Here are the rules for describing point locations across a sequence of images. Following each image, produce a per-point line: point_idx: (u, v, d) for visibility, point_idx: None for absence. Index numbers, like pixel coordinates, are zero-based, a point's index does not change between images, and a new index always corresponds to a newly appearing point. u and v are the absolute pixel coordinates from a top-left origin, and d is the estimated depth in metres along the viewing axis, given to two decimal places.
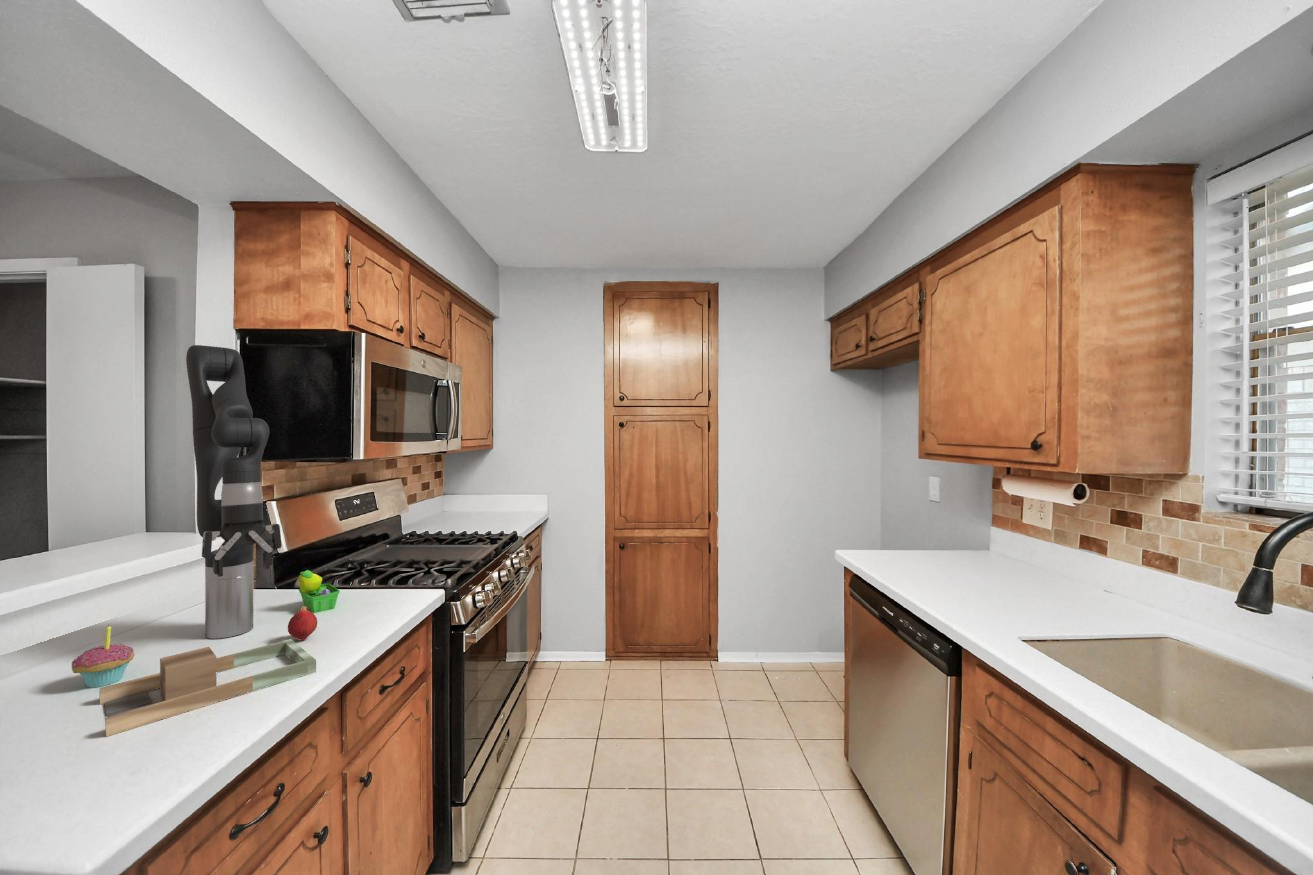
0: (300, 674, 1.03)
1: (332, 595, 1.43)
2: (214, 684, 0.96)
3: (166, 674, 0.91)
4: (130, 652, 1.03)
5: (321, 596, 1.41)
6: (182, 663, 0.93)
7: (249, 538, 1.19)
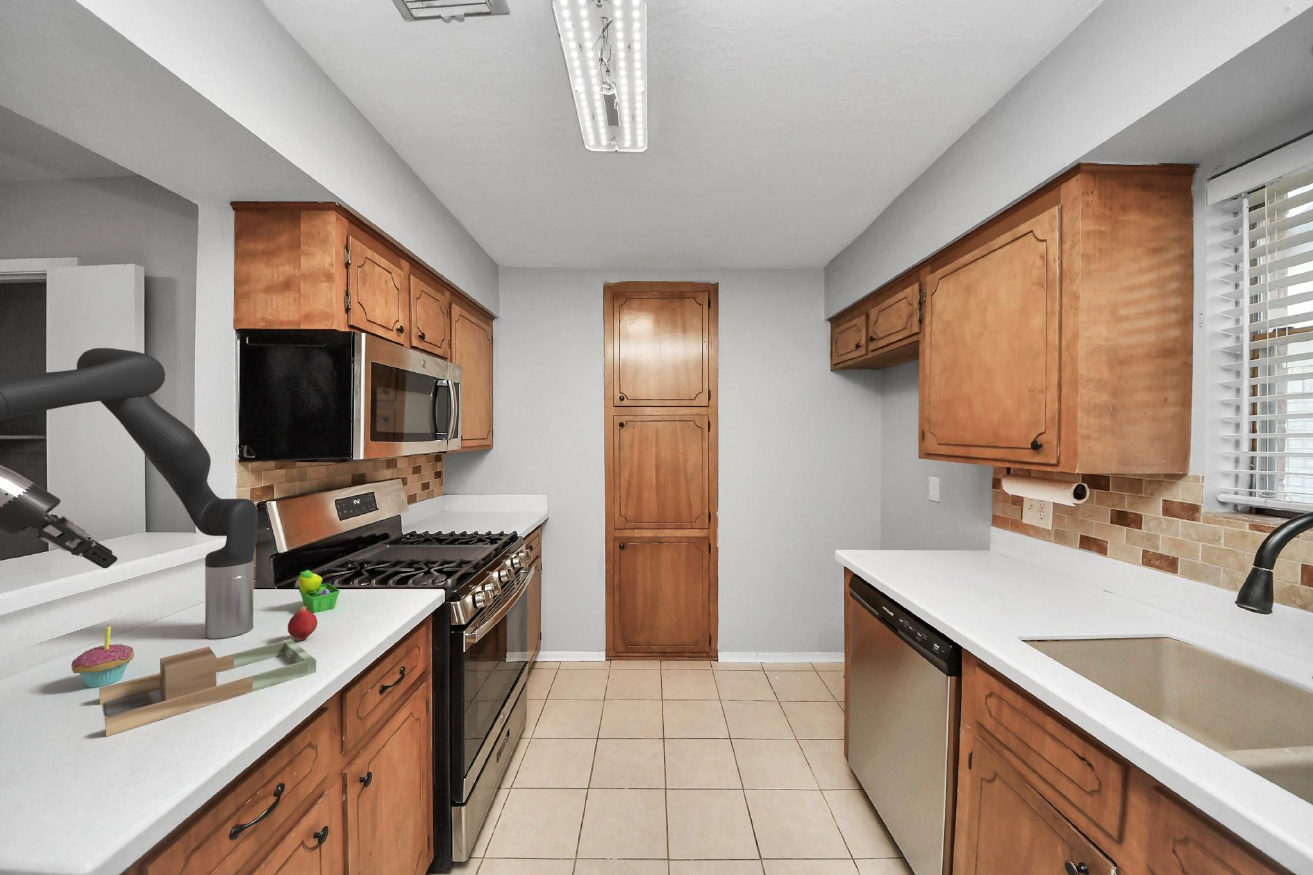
0: (300, 674, 1.03)
1: (332, 595, 1.43)
2: (214, 684, 0.96)
3: (166, 674, 0.91)
4: (130, 652, 1.03)
5: (321, 596, 1.41)
6: (182, 663, 0.93)
7: None
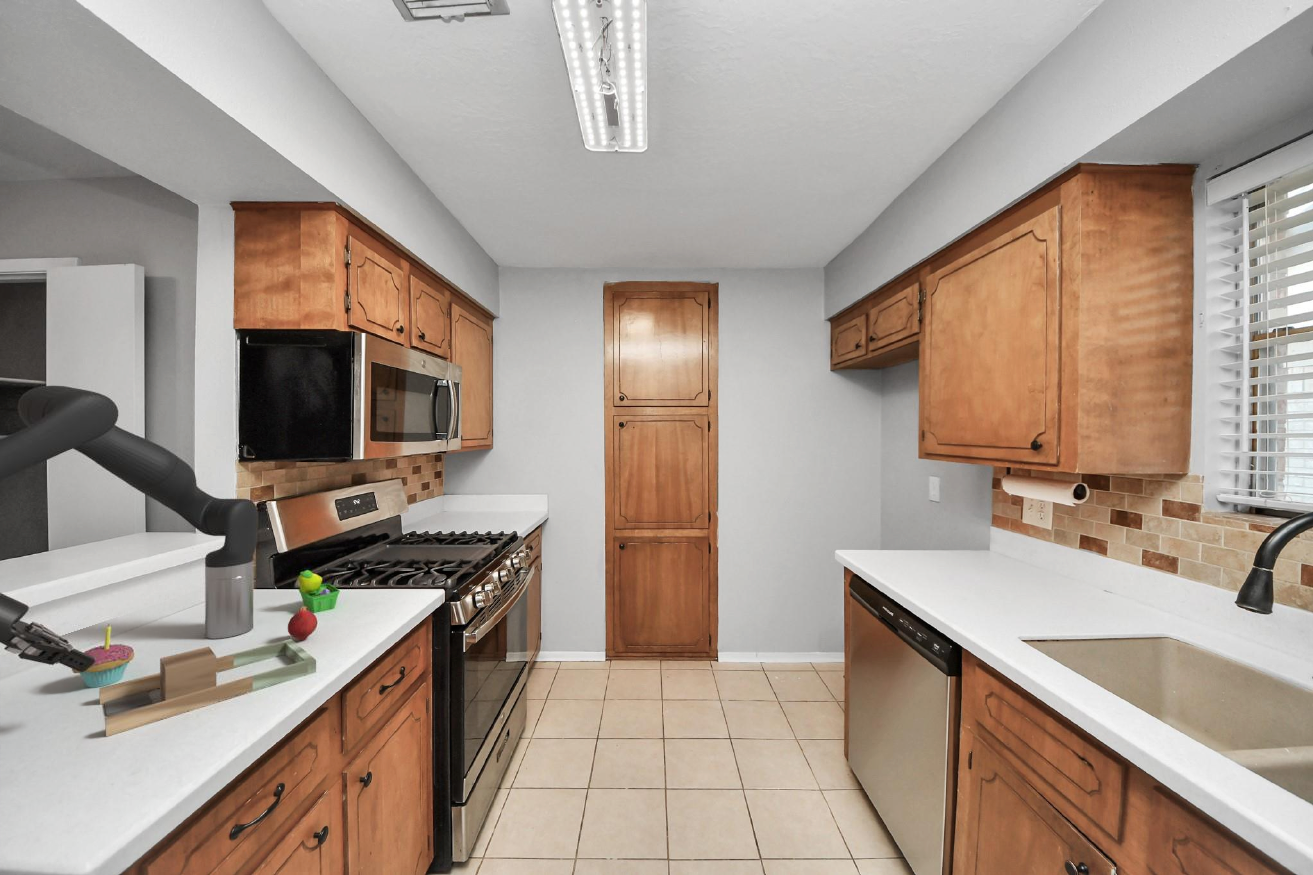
0: (300, 674, 1.03)
1: (332, 595, 1.43)
2: (214, 684, 0.96)
3: (166, 674, 0.91)
4: (130, 652, 1.03)
5: (321, 596, 1.41)
6: (182, 663, 0.93)
7: None
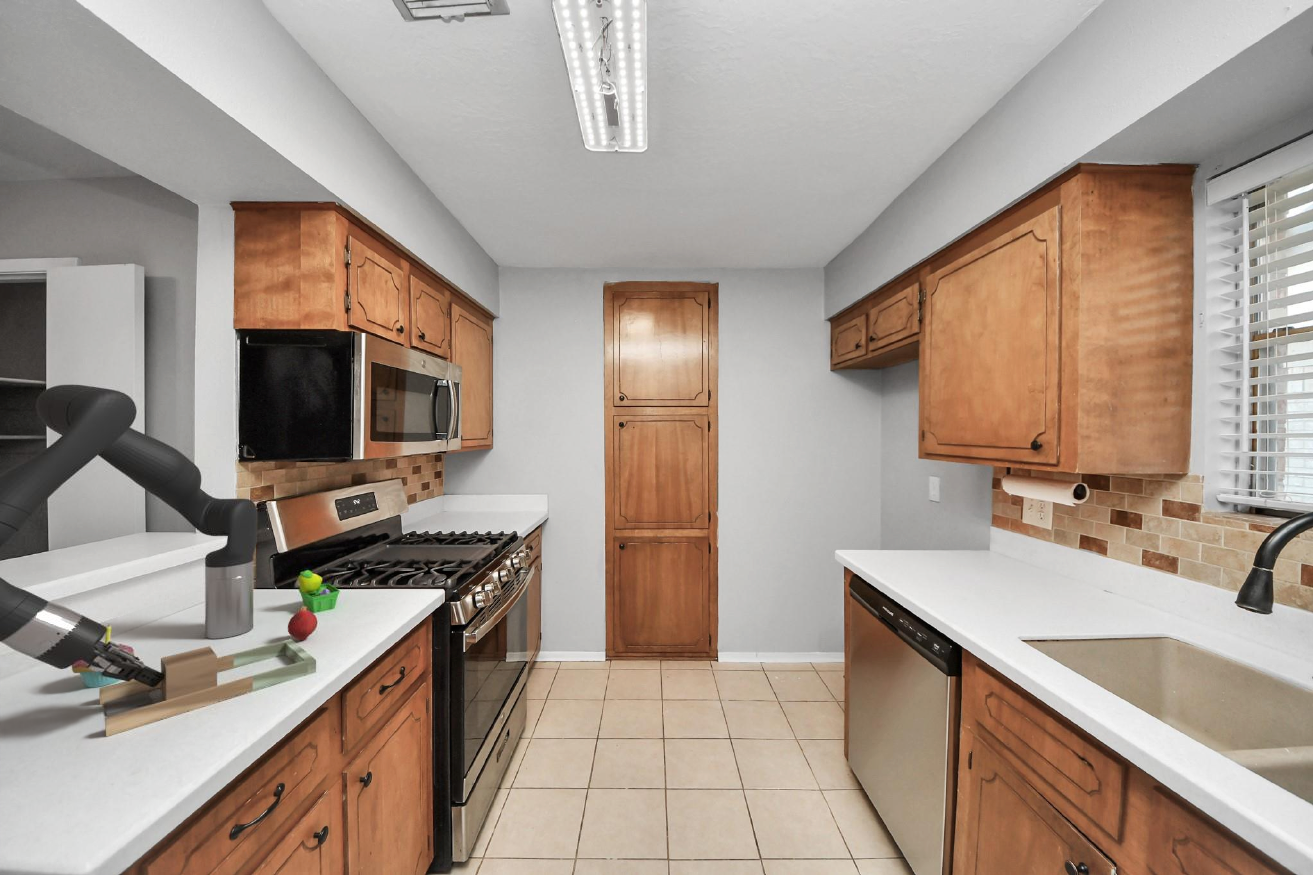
0: (300, 674, 1.03)
1: (332, 595, 1.43)
2: (215, 684, 0.97)
3: (167, 674, 0.91)
4: (131, 652, 1.03)
5: (321, 596, 1.41)
6: (182, 663, 0.94)
7: None
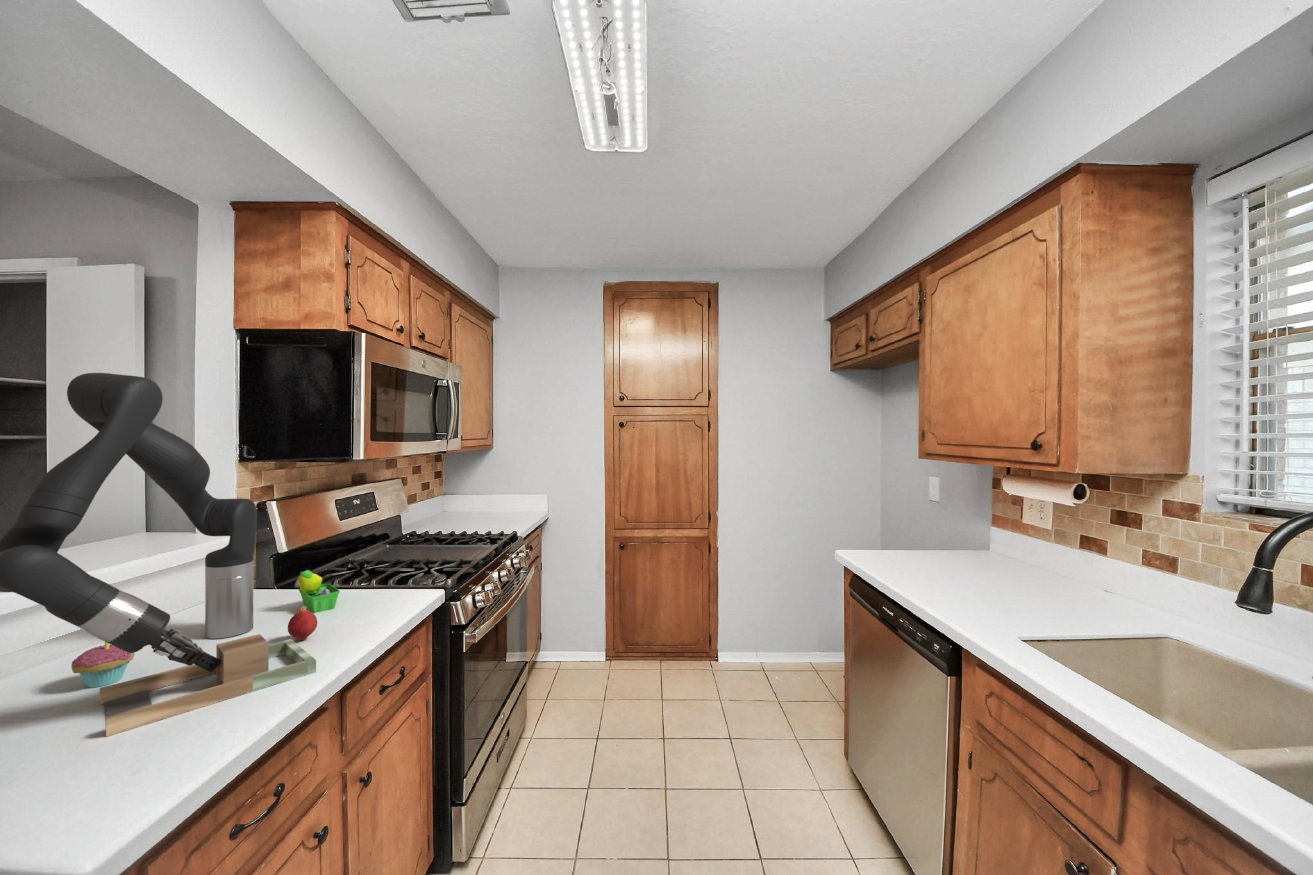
0: (300, 674, 1.03)
1: (332, 595, 1.43)
2: (266, 669, 1.03)
3: (224, 658, 0.97)
4: None
5: (321, 596, 1.41)
6: (238, 649, 1.00)
7: None
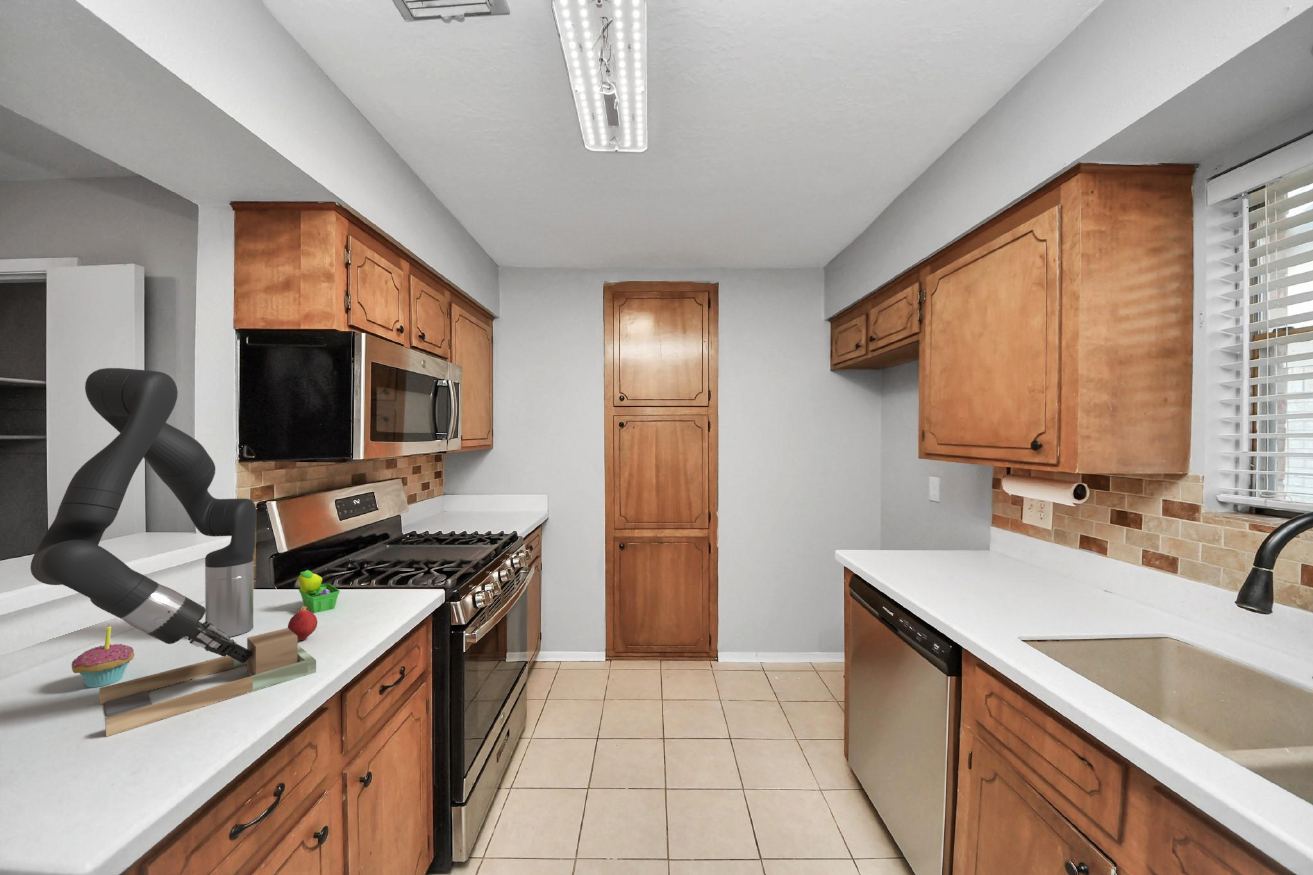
0: (300, 674, 1.03)
1: (332, 595, 1.43)
2: (295, 661, 1.06)
3: (256, 651, 1.01)
4: (131, 652, 1.03)
5: (321, 596, 1.41)
6: (269, 642, 1.03)
7: None
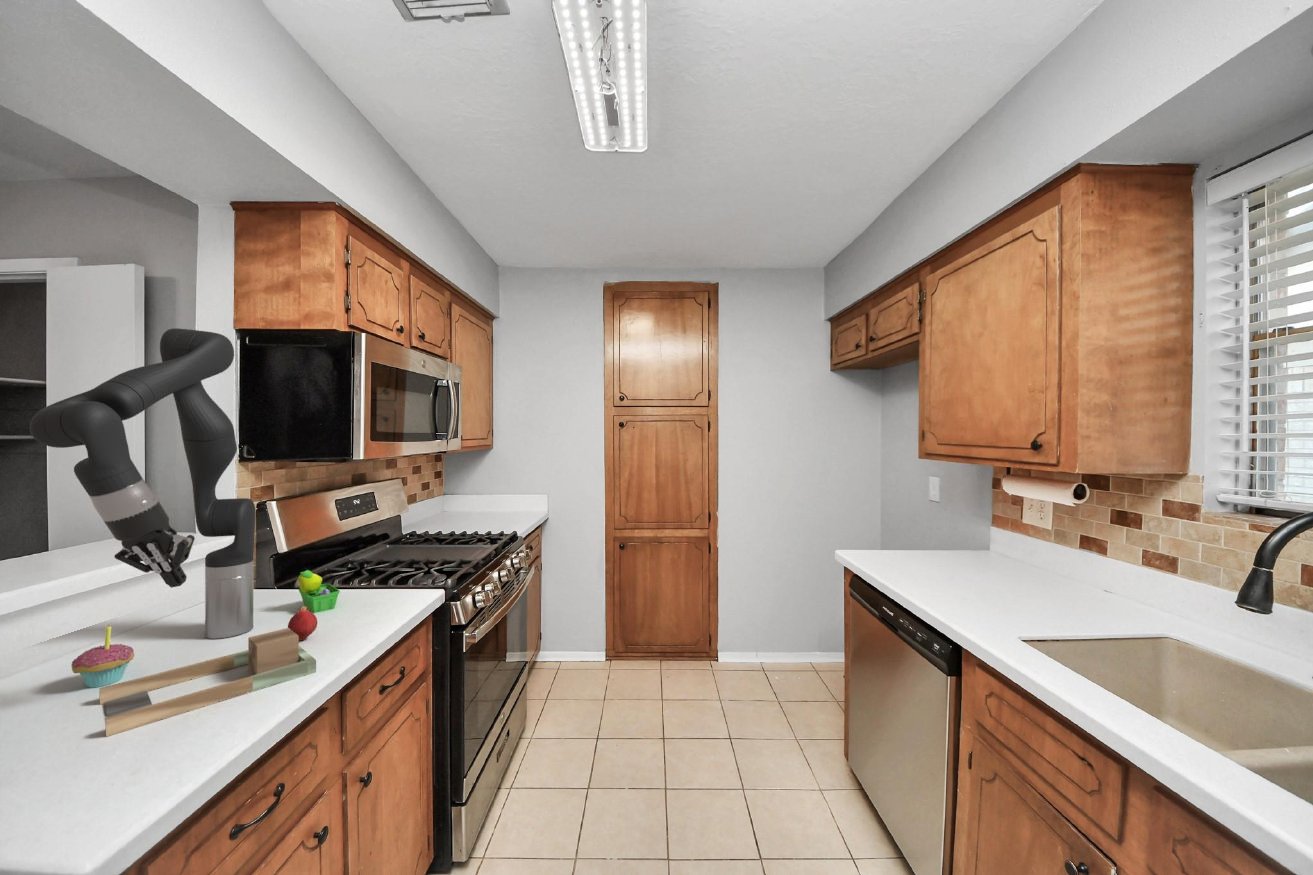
0: (300, 674, 1.03)
1: (332, 595, 1.43)
2: (297, 661, 1.06)
3: (258, 651, 1.01)
4: (131, 652, 1.03)
5: (321, 596, 1.41)
6: (270, 641, 1.03)
7: None
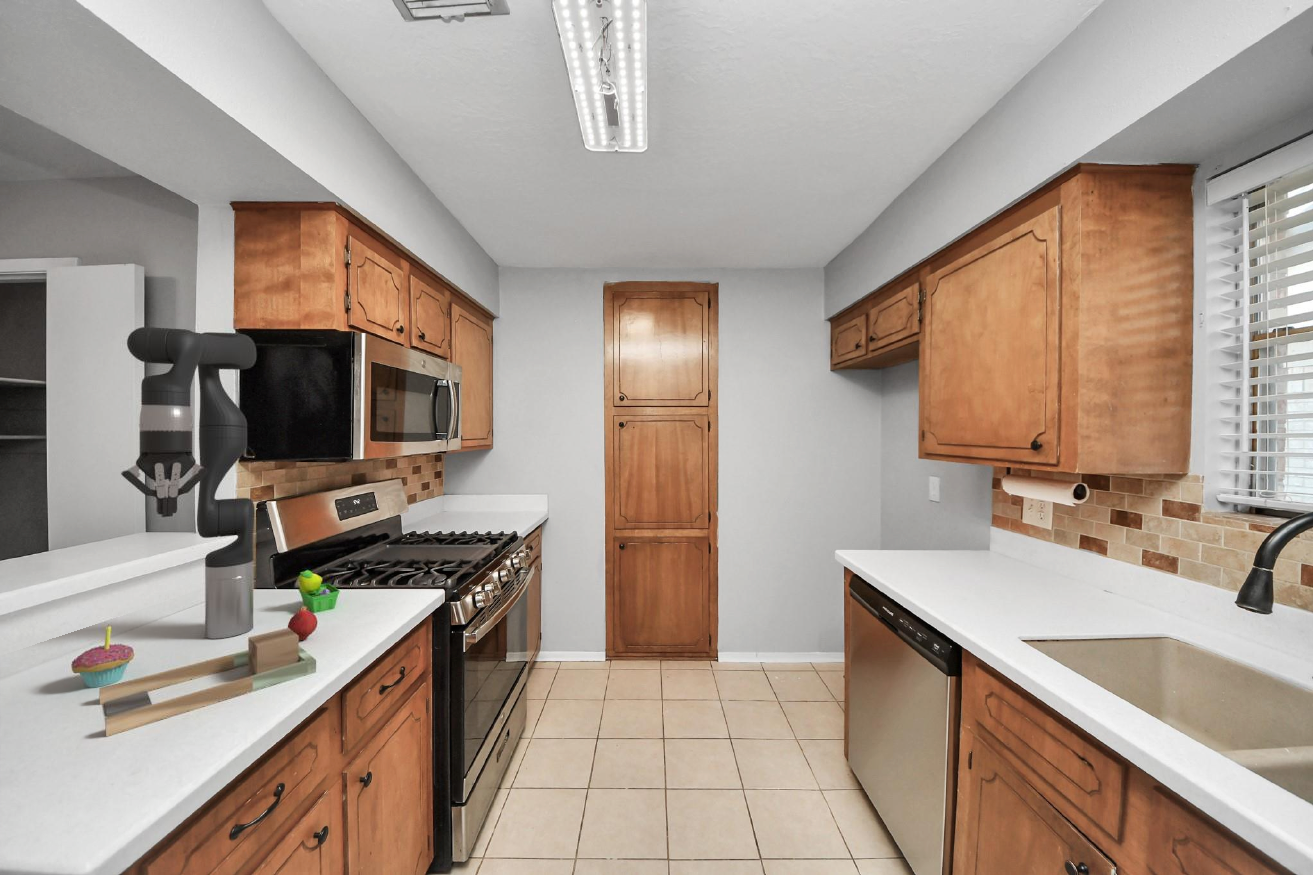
0: (300, 674, 1.03)
1: (332, 595, 1.43)
2: (297, 661, 1.06)
3: (258, 651, 1.01)
4: (130, 652, 1.03)
5: (321, 596, 1.41)
6: (270, 641, 1.03)
7: (169, 469, 1.00)
